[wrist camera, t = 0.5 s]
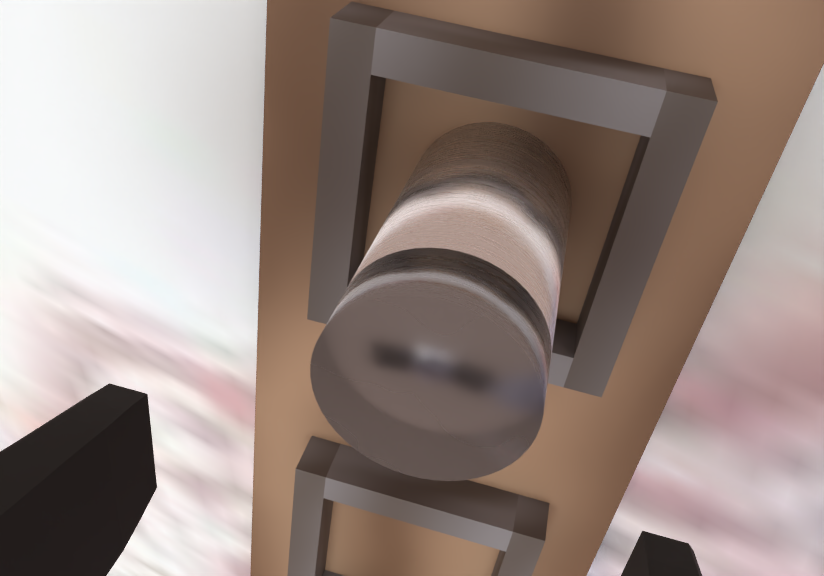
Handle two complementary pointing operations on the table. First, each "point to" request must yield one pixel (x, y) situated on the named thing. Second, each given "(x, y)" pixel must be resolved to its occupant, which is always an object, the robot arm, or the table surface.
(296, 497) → the dock board
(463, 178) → the metal cylinder
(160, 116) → the table surface
